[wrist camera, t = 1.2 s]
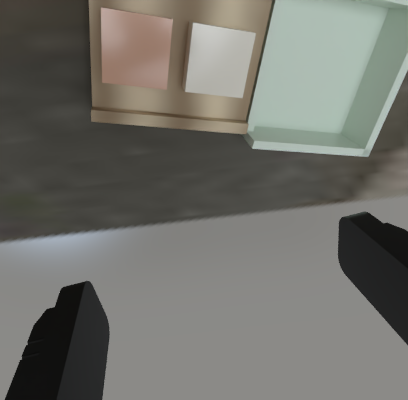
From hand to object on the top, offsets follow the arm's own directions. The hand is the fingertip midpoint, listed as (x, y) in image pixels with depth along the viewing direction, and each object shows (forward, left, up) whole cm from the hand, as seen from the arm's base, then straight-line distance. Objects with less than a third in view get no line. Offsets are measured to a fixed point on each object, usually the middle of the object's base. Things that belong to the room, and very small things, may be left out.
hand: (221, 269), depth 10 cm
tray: (+15, +4, -24) cm, 29 cm away
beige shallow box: (+1, +4, -24) cm, 25 cm away
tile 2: (+4, +4, -21) cm, 22 cm away
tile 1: (-3, +4, -21) cm, 22 cm away
